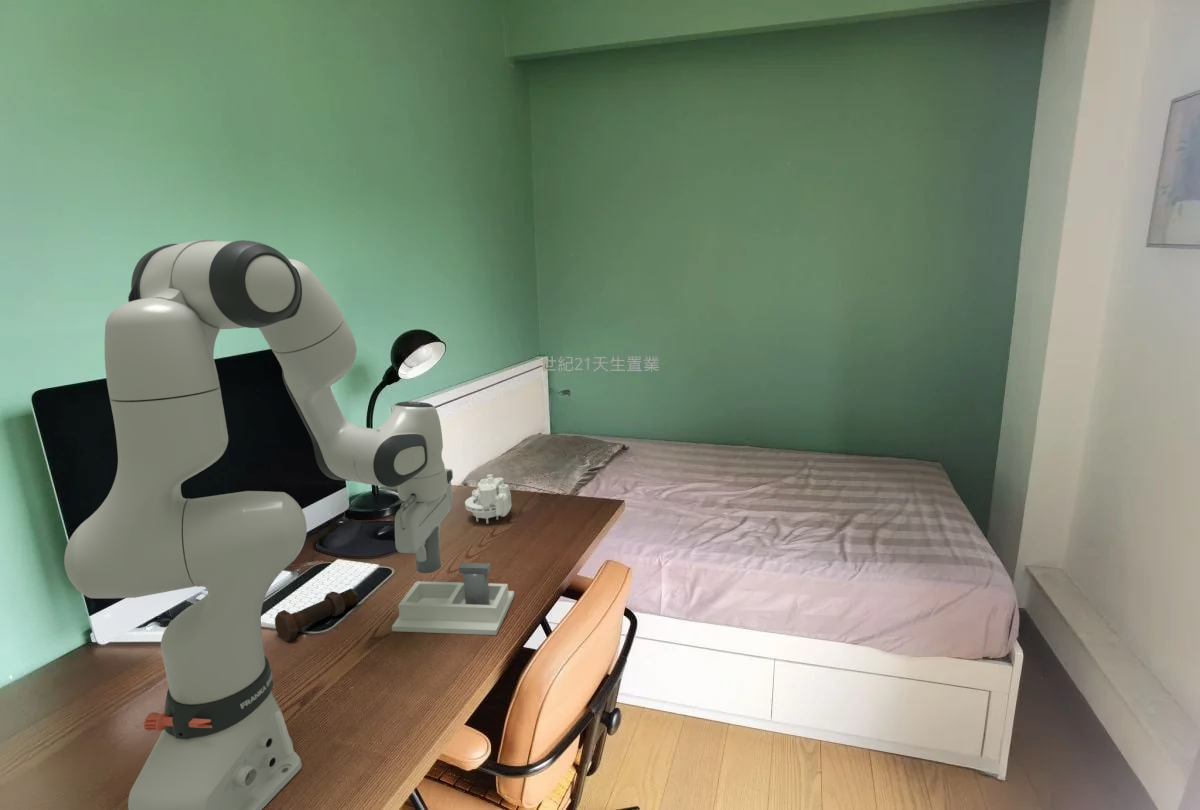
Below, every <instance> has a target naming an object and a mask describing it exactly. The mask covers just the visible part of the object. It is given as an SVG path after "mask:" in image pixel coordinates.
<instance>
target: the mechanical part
mask: <svg viewBox="0 0 1200 810" xmlns="http://www.w3.org/2000/svg"><path fill="white" fill-rule="evenodd" d="M504 482H505V481H504V478H503V477H495V478H494V476H493V474H486V478H482V479H480V481H479V482H478V483H477V485H476V486H477V488H476V489H473V490H472V491H471V496H470V497H467V499H466V500H465V501H464V508H465V510H467V511H468V512H471V513H472V516H473V517H475V518H476V519H475V520H476V522H477V523H478V522H479V519H485V521H486V522H485V523H486V524H489V519H490V518H494V517H495V519H496V521H497V520H499V517H506V516H507V515H508V514H509V512H510V510H511V508H512V493H511V491H510V486H509V485H508V484H506V483H504Z"/></svg>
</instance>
